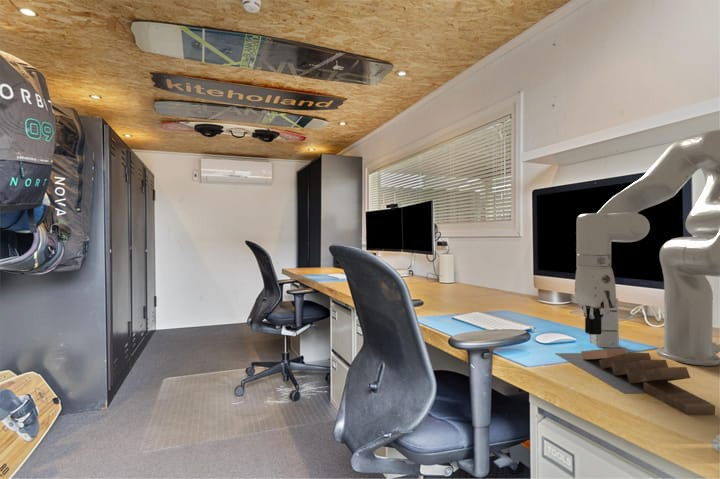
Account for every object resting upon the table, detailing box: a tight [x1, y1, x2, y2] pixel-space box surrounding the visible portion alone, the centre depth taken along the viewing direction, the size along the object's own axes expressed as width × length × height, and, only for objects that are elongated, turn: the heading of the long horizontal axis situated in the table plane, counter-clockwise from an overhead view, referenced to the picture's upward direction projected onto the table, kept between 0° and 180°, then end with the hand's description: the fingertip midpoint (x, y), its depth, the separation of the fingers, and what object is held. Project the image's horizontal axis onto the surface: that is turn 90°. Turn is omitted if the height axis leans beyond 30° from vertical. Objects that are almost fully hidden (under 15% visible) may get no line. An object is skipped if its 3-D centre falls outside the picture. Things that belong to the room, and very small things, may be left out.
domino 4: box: [627, 366, 691, 384], centre depth 76 cm, size 2×5×10 cm
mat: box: [554, 352, 648, 395], centre depth 88 cm, size 12×26×1 cm, turn 1°
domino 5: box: [643, 381, 716, 416], centre depth 71 cm, size 2×5×10 cm
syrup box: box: [589, 297, 620, 349], centre depth 110 cm, size 6×6×14 cm
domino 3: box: [612, 359, 669, 376], centre depth 81 cm, size 2×5×10 cm
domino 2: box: [599, 352, 652, 369], centre depth 85 cm, size 2×5×10 cm
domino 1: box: [580, 348, 629, 360], centre depth 92 cm, size 2×5×10 cm
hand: (593, 333), depth 96 cm, fingers closed
